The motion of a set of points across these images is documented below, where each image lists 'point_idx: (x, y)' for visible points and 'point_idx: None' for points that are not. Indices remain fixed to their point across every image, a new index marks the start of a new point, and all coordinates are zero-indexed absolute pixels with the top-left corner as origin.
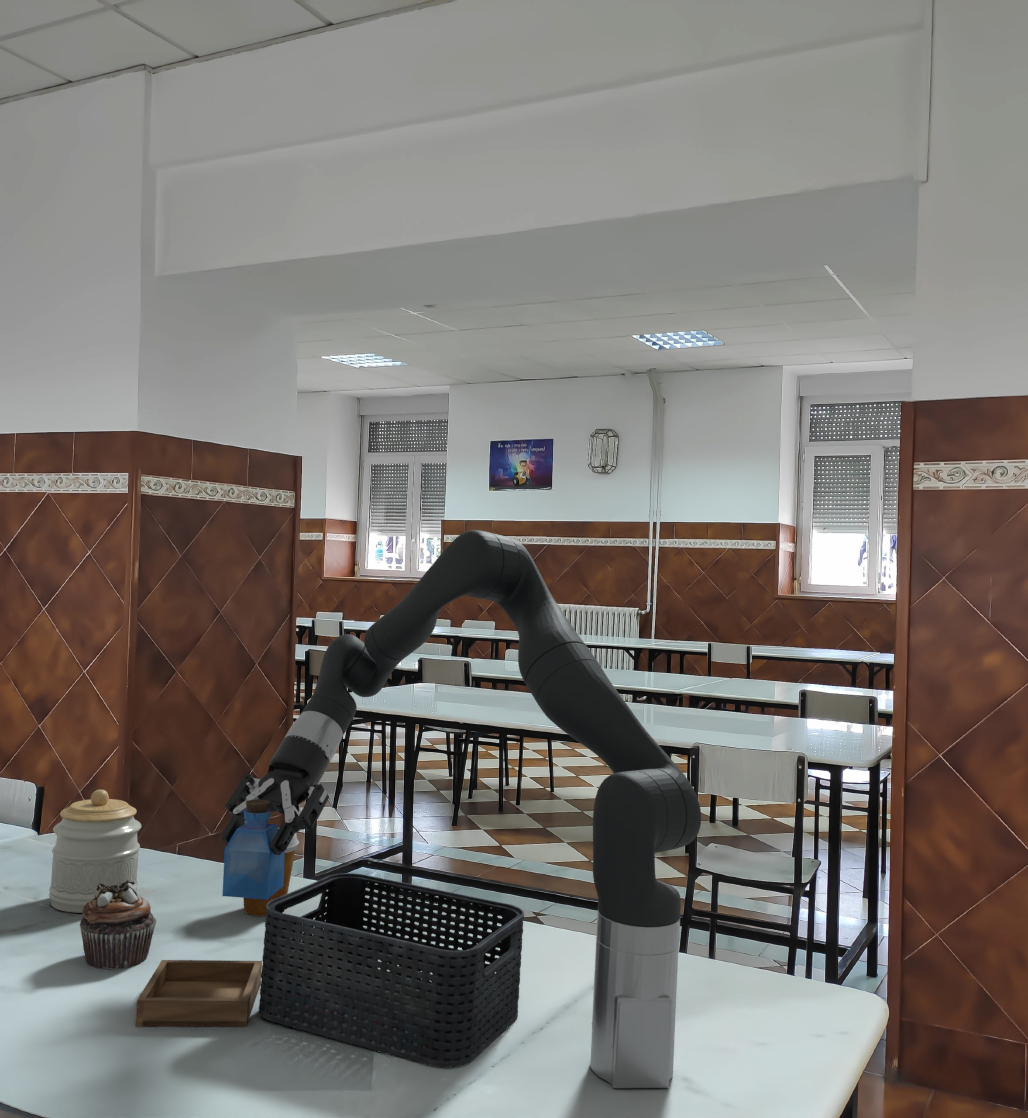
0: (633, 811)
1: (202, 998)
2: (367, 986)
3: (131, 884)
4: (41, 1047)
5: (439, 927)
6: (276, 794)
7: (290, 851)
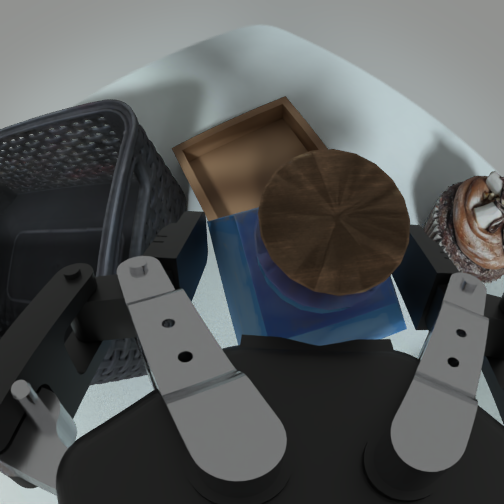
0: None
1: (223, 127)
2: (28, 163)
3: None
4: (322, 65)
5: None
6: (311, 396)
7: None
